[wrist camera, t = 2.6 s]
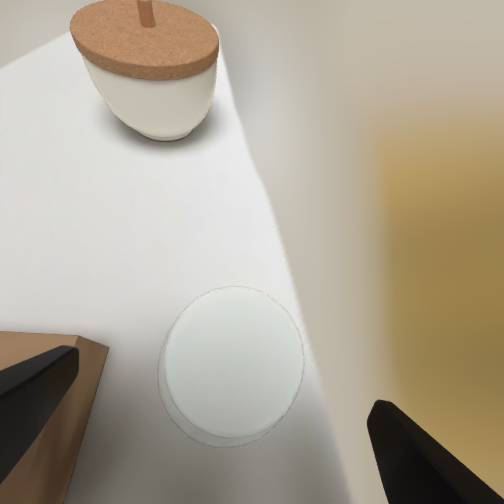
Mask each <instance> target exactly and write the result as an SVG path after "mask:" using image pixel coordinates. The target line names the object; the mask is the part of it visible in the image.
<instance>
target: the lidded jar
mask: <svg viewBox="0 0 504 504" xmlns="http://www.w3.org/2000/svg"><path fill="white" fill-rule="evenodd" d="M70 31H71V34H72V37H73V40H74V42H75V45H76V47H77V48H78V50H79V51H80V53H81V55H82V58H83V60H84V63H85V65H86V68H87V70H88V72H89V75H90V77H91V79H92V81H93V83H94V85H95V87H96V89H97V90H98V92H99V93H100V95H101V97H102V98H103V100H104V101H105V103H106V104H107V106H108V107H109V108H110V109H111V111H112V112H113V113H114V114H115V115H116V116H117V117H118V118H119V119H120V120H121V121H123V122H124V123H125V124H127V125H128V126H130V127H131V128H133V129H135V130H137V131H138V132H139V133H140V134H141V135H143V136H145V137H147V138H149V139H152V140H157V141H174V140H179V139H182V138H184V137H186V136H188V135H189V134H190V133H191V132H192V131H193V129H194V128H195V127H196V126H198V125H199V124H200V123H201V121H202V120H203V119H204V117H205V116H206V115H207V112H208V110H209V108H210V106H211V103H212V99H213V95H214V90H215V84H216V74H217V57H218V52H219V38H218V35H217V32H216V30H215V29H214V27H213V26H212V25H211V24H210V23H209V22H208V21H207V20H205V19H204V18H202V17H201V16H199V15H198V14H196V13H194V12H192V11H190V10H187V9H185V8H183V7H179V6H176V5H173V4H169V3H166V2H160V1H155V0H104V1H99V2H96V3H92V4H90V5H87V6H85V7H83V8H82V9H80V10H78V11H77V12H76V13H75V14H74V16H73V17H72V19H71V21H70Z"/></svg>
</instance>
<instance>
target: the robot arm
mask: <svg viewBox="0 0 504 504" xmlns="http://www.w3.org/2000/svg"><path fill="white" fill-rule="evenodd" d="M79 357H80V351H79V348H78V347H76V346H71V345H60V346H58V347H55V348H53V349H50V350H48V351H46V352H43V353H41V354H38V355H36V356H34V357H31V358H29V359H26V360H24V361H22V362H19V363H17V364H14V365H12V366H9V367H7V368H5V369H2V370H0V485H1V484H2V482H3V481H4V480H5V478H6V477H7V476H8V475H9V473H10V472H11V471H12V469H13V468H14V467H15V466H16V464H17V463H18V462H19V460H20V459H21V458H22V457H23V455H24V454H25V453H26V451H27V450H28V449H29V448H30V446H31V445H32V444H33V442H34V441H35V440H36V438H37V437H38V435H39V434H40V433H41V431H42V430H43V428H44V427H45V425H46V424H47V422H48V421H49V419H50V418H51V416H52V415H53V413H54V411H55V410H56V408H57V407H58V405H59V404H60V402H61V401H62V399H63V398H64V396H65V395H66V393H67V392H68V390H69V389H70V387H71V385H72V384H73V382H74V381H75V379H76V378H77V376H78V373H79ZM367 428H368V432H369V436H370V439H371V443H372V447H373V451H374V455H375V458H376V462H377V466H378V470H379V473H380V477H381V481H382V484H383V487H384V491H385V494H386V497H387V500H388V503H389V504H504V499H503V498H502V497H501V496H500V495H498V494H497V493H496V492H495V491H494V490H492V489H491V488H490V487H489V486H488V485H487V484H485V482H483V481H482V480H481V479H480V478H479V477H477V476H476V475H475V474H474V473H473V472H472V471H471V470H470V469H468V468H467V467H466V466H465V465H464V464H463V463H461V462H460V461H459V460H458V459H457V458H456V457H454V456H453V455H452V454H451V453H450V452H449V451H448V450H446V449H445V448H444V447H443V446H442V445H441V444H439V443H438V442H437V441H436V440H435V439H434V438H432V437H431V436H430V435H429V434H428V433H427V432H426V431H424V430H423V429H422V428H421V427H420V426H419V425H417V424H416V423H415V422H414V421H413V420H412V419H411V418H409V417H408V416H407V415H406V414H405V413H404V412H402V411H401V410H400V409H399V408H398V407H397V406H396V405H394V404H393V403H392V402H390V401H385V400H377V401H375V403H374V405H373V407H372V410H371V412H370V414H369V416H368V419H367Z"/></svg>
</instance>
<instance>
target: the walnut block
mask: <svg viewBox="0 0 504 504" xmlns="http://www.w3.org/2000/svg"><path fill="white" fill-rule="evenodd" d="M60 345H71V346H76V347H78V348H79V351H80V357H79V373H78V376H77V378H76V379H75V381H74V382H73V384H72V385H71V387H70V389H69V390H68V392H67V393H66V395H65V396H64V398H63V399H62V401H61V402H60V404H59V405H58V407H57V408H56V410H55V411H54V413H53V415H52V416H51V418H50V419H49V421H48V422H47V424H46V425H45V427H44V428H43V430H42V431H41V433H40V434H39V435H38V437H37V438H36V440H35V441H34V442H33V444H32V445H31V446H30V448H29V449H28V450H27V451H26V453H25V454H24V455H23V457H22V458H21V459H20V460H19V462H18V463H17V464H16V466H15V467H14V468H13V469H12V471H11V472H10V473H9V475H8V476H7V477H6V478H5V480H4V481H3V482H2V484H1V485H0V504H63V502H64V499H65V496H66V492H67V489H68V485H69V482H70V478H71V475H72V472H73V468H74V465H75V461H76V458H77V455H78V451H79V448H80V444H81V441H82V438H83V434H84V431H85V427H86V424H87V420H88V417H89V414H90V410H91V407H92V403H93V400H94V397H95V393H96V390H97V386H98V383H99V379H100V376H101V373H102V369H103V366H104V362H105V359H106V356H107V352H108V349H109V347H107V346H105V345H102V344H99V343H97V342H94V341H92V340H89V339H86V338H84V337H81V336H78V335H61V334H42V333H23V332H4V331H0V370H2V369H5V368H7V367H9V366H12V365H14V364H17V363H19V362H22V361H24V360H26V359H29V358H31V357H34V356H36V355H38V354H41V353H43V352H46V351H48V350H50V349H53V348H55V347H58V346H60Z"/></svg>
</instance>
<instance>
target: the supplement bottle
mask: <svg viewBox="0 0 504 504" xmlns="http://www.w3.org/2000/svg"><path fill="white" fill-rule="evenodd" d="M303 372H304V351H303V345H302V341H301V337H300V334H299V331H298V329H297V327H296V325H295V323H294V321H293V319H292V318H291V316H290V315H289V313H288V312H287V311H286V309H285V308H284V307H283V306H282V305H281V304H279V303H278V302H277V301H276V300H274V299H273V298H272V297H270V296H269V295H267V294H265V293H263V292H261V291H258V290H255V289H252V288H248V287H240V286H231V287H223V288H219V289H215V290H213V291H210V292H208V293H205V294H204V295H202V296H200V297H198V298H197V299H196V300H194V301H193V302H192V303H191V304H190V305H189V306H188V307H187V308H186V309H185V310H184V311H183V312H182V313H181V315H180V316H179V317H178V319H177V320H176V322H175V323H174V324H173V326H172V327H171V329H170V330H169V332H168V334H167V336H166V338H165V341H164V343H163V346H162V349H161V352H160V357H159V362H158V385H159V391H160V395H161V398H162V401H163V404H164V406H165V409H166V411H167V412H168V414H169V416H170V417H171V419H172V420H173V421H174V423H175V424H176V425H177V426H178V427H179V428H180V429H181V430H182V431H183V432H184V433H185V434H187V435H188V436H189V437H191V438H192V439H194V440H196V441H198V442H200V443H203V444H206V445H209V446H213V447H220V448H229V447H237V446H242V445H246V444H248V443H251V442H253V441H255V440H257V439H259V438H260V437H262V436H264V435H265V434H266V433H268V432H269V431H270V430H271V429H272V428H273V427H274V426H275V425H276V424H277V423H278V422H279V421H280V420H281V418H282V417H283V416H284V414H285V413H286V412H287V410H288V409H289V408H290V406H291V405H292V403H293V402H294V400H295V398H296V396H297V394H298V391H299V388H300V385H301V382H302V378H303Z"/></svg>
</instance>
